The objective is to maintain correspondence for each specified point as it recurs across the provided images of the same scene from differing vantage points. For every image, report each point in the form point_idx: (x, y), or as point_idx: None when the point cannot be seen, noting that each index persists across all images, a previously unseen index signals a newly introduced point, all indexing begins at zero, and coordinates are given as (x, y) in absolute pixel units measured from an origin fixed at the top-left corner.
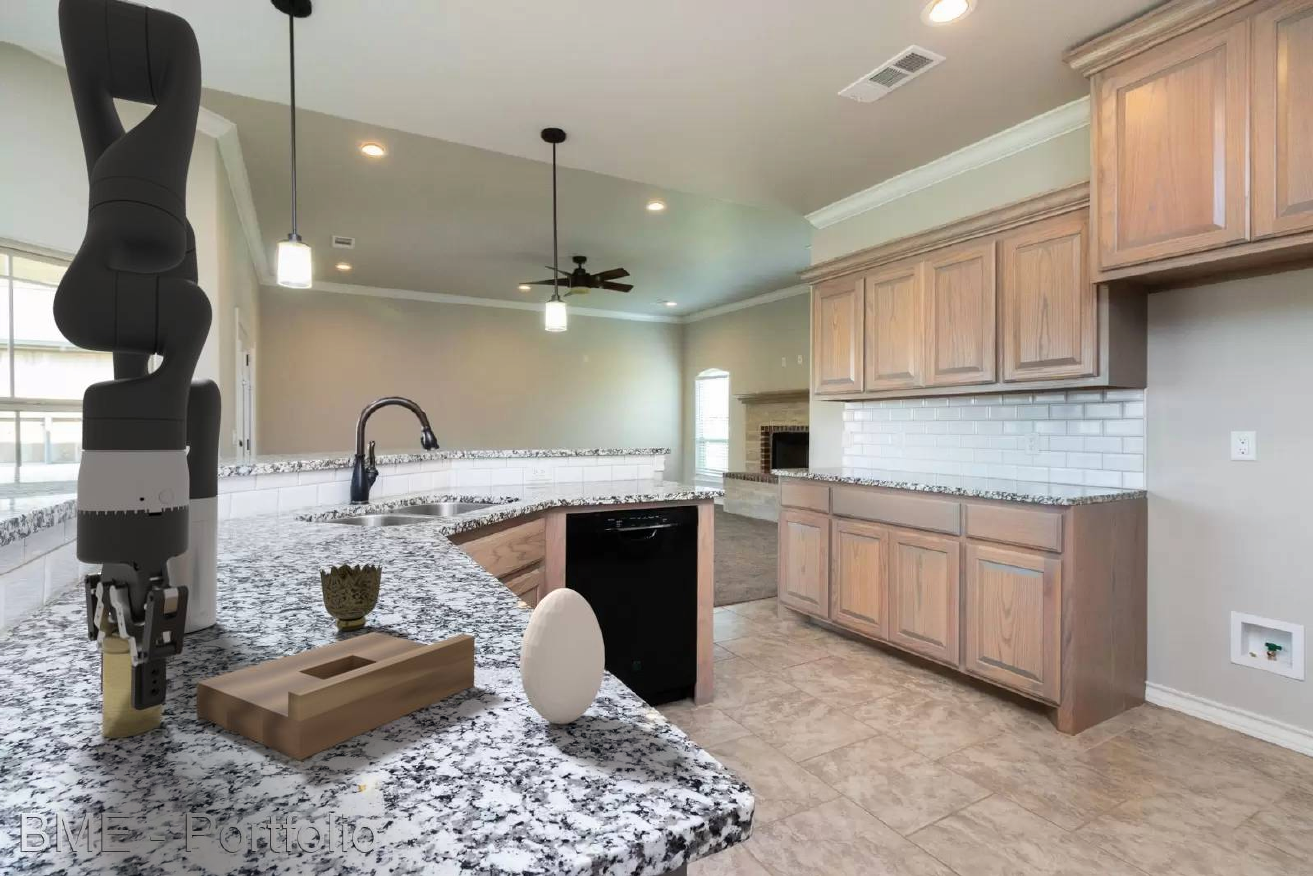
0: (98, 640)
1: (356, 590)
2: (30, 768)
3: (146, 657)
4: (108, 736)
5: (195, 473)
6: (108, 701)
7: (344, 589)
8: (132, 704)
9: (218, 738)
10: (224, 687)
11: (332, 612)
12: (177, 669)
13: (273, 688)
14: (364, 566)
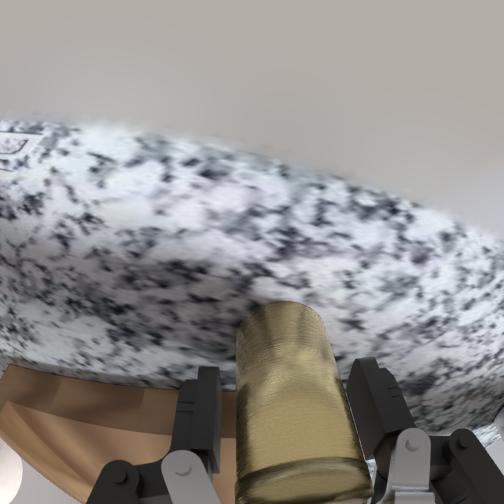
0: (423, 450)
1: None
2: (236, 180)
3: (108, 470)
4: (269, 305)
5: None
6: (275, 356)
7: None
8: (208, 372)
9: (118, 371)
10: (168, 440)
11: (363, 502)
12: (439, 401)
13: (112, 447)
14: None
